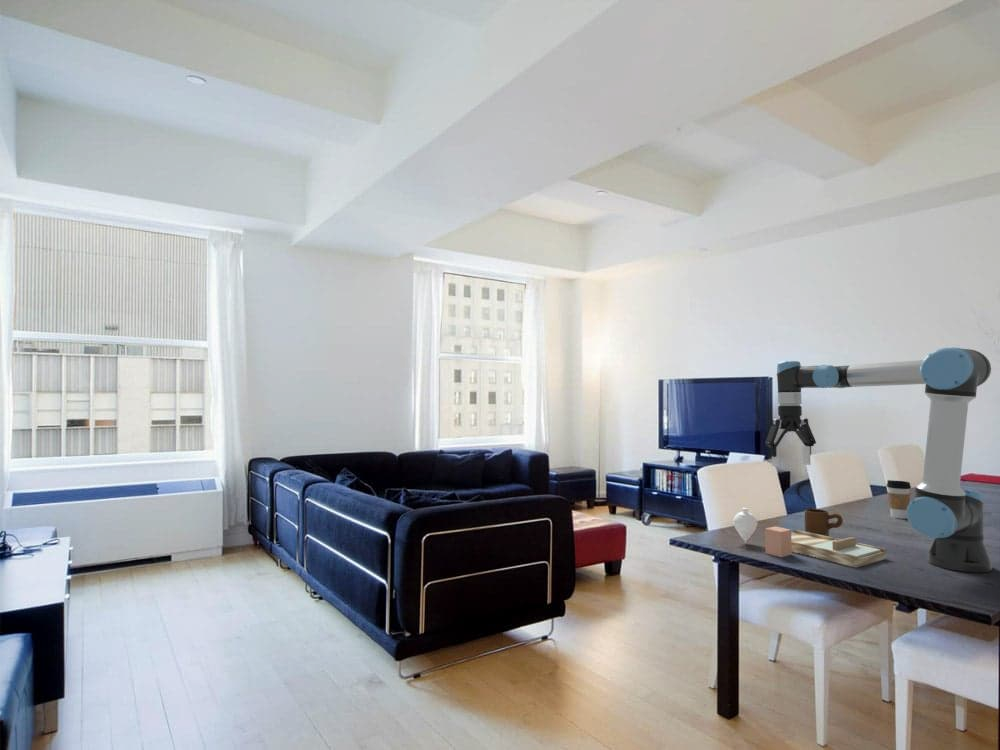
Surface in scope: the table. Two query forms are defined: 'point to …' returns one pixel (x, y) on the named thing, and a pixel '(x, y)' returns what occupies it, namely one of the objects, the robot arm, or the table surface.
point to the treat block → (778, 541)
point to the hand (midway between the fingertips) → (791, 465)
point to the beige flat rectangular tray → (804, 546)
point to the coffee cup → (898, 498)
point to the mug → (820, 521)
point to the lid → (847, 547)
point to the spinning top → (745, 523)
